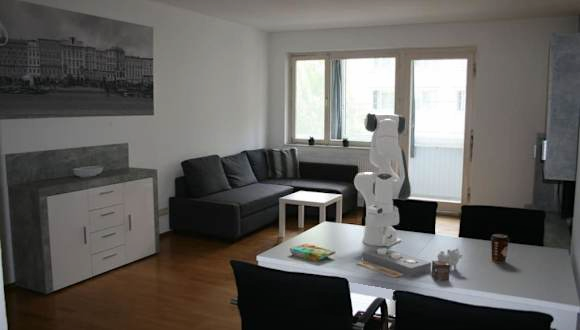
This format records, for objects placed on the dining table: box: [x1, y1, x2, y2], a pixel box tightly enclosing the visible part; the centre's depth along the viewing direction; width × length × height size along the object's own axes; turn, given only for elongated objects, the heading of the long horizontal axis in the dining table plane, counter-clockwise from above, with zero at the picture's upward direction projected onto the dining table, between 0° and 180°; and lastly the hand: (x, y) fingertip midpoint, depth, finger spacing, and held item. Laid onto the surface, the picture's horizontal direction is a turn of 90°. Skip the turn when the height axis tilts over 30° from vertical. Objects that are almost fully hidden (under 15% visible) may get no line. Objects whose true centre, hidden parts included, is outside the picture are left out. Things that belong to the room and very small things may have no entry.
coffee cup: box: [490, 233, 511, 264], centre depth 252 cm, size 9×8×13 cm
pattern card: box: [356, 260, 405, 279], centre depth 237 cm, size 6×24×1 cm, turn 37°
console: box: [362, 247, 432, 278], centre depth 244 cm, size 14×30×4 cm, turn 37°
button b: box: [391, 252, 401, 259], centre depth 244 cm, size 4×4×3 cm
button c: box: [406, 260, 416, 264], centre depth 237 cm, size 4×4×3 cm
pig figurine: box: [437, 247, 463, 272], centre depth 239 cm, size 5×13×11 cm, turn 32°
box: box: [431, 260, 451, 282], centre depth 226 cm, size 6×6×7 cm
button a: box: [376, 247, 387, 255], centre depth 251 cm, size 4×4×3 cm
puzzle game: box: [289, 243, 336, 262], centre depth 256 cm, size 12×5×20 cm
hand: (382, 235), depth 250 cm, fingers closed
